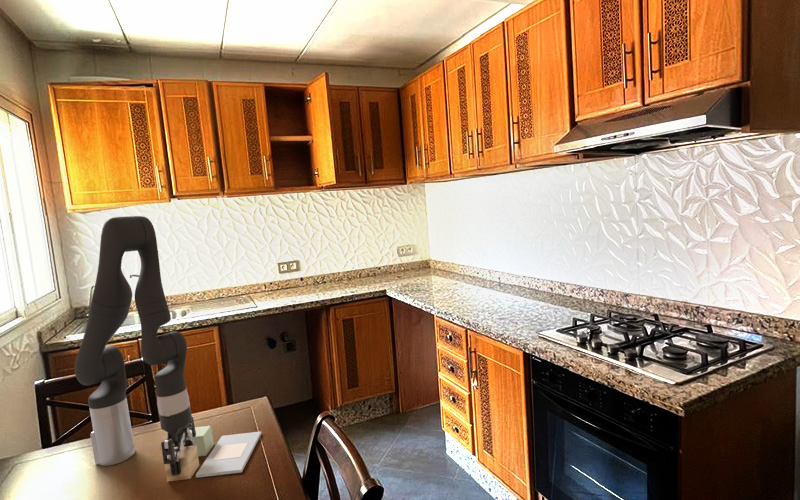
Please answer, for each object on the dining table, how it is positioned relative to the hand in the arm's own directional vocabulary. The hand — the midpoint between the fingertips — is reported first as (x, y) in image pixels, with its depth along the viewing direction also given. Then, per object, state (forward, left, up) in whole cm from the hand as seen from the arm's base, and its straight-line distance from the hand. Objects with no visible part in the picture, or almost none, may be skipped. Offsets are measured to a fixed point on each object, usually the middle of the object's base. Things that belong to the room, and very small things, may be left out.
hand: (183, 465), depth 120 cm
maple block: (0, 0, -2) cm, 2 cm away
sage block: (0, +11, -2) cm, 11 cm away
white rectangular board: (+10, +7, -2) cm, 13 cm away
